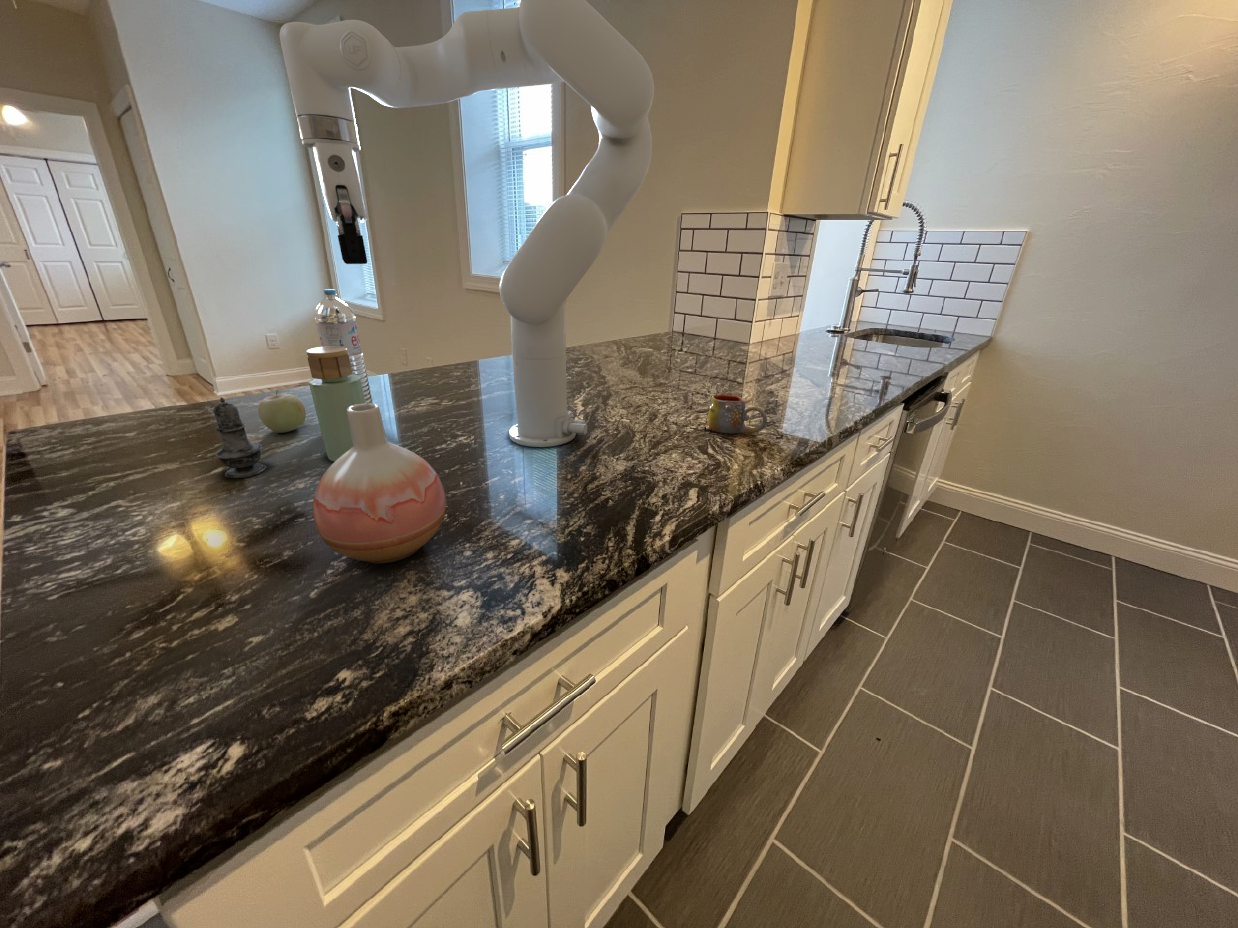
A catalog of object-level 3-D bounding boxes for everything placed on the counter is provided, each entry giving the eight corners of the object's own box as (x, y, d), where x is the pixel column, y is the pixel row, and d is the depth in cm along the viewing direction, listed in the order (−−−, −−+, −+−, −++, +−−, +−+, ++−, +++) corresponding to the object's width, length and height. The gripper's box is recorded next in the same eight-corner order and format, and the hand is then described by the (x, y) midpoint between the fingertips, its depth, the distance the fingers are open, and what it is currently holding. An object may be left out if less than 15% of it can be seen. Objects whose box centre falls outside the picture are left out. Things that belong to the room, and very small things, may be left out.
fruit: (316, 429, 93) (305, 389, 89) (272, 440, 88) (259, 397, 84) (301, 420, 97) (290, 381, 94) (258, 430, 92) (245, 389, 89)
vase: (358, 602, 49) (317, 441, 42) (307, 549, 57) (265, 407, 50) (474, 545, 59) (457, 407, 51) (416, 507, 67) (394, 382, 59)
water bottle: (360, 425, 96) (331, 292, 85) (330, 422, 97) (298, 290, 86) (382, 414, 102) (358, 288, 91) (354, 411, 103) (326, 287, 93)
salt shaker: (277, 466, 78) (255, 394, 73) (240, 481, 72) (214, 405, 67) (250, 461, 79) (227, 390, 74) (213, 475, 74) (185, 400, 69)
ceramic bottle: (384, 448, 85) (365, 352, 78) (352, 464, 79) (328, 361, 72) (351, 443, 87) (329, 348, 80) (317, 458, 81) (291, 357, 74)
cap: (360, 372, 79) (355, 347, 77) (332, 380, 74) (326, 354, 72) (332, 369, 80) (327, 345, 79) (303, 377, 75) (297, 351, 74)
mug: (700, 429, 98) (703, 397, 95) (717, 420, 102) (720, 390, 100) (755, 444, 91) (760, 410, 88) (770, 434, 95) (775, 402, 93)
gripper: (361, 129, 66) (385, 265, 73) (356, 148, 79) (376, 260, 86) (296, 122, 62) (328, 265, 69) (302, 143, 76) (328, 260, 83)
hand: (354, 262), depth 78 cm, fingers open, 9 cm apart
